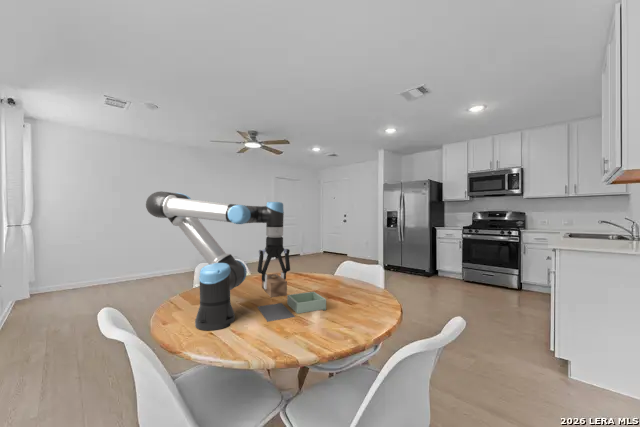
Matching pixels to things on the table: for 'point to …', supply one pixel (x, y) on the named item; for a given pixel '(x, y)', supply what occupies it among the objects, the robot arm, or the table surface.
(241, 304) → the table surface
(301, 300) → the dish
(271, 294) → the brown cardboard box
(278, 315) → the mat
